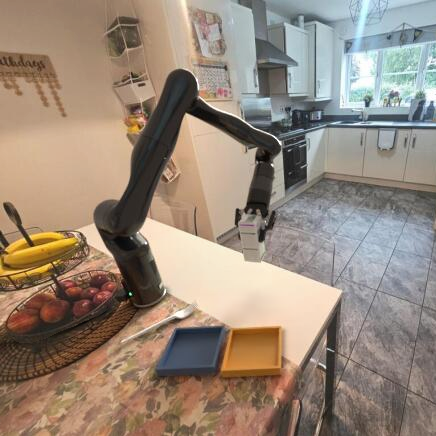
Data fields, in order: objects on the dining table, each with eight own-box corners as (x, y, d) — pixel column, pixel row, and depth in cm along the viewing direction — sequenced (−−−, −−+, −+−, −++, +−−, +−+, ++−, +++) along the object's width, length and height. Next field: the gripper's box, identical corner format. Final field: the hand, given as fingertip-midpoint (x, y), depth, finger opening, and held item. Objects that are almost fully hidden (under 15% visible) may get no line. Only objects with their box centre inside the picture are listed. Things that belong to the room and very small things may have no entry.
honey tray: (222, 377, 55) (220, 371, 54) (232, 334, 65) (230, 328, 64) (281, 374, 55) (280, 368, 54) (281, 332, 65) (281, 325, 64)
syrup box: (261, 263, 78) (256, 222, 71) (243, 261, 79) (237, 221, 72) (266, 253, 83) (262, 214, 76) (249, 251, 84) (244, 213, 77)
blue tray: (157, 376, 55) (154, 369, 54) (177, 333, 66) (175, 327, 64) (215, 373, 56) (213, 366, 54) (226, 331, 66) (224, 325, 65)
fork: (121, 340, 64) (118, 335, 64) (196, 303, 75) (195, 299, 74) (122, 349, 62) (119, 344, 61) (200, 310, 73) (198, 305, 72)
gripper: (283, 198, 83) (275, 246, 78) (244, 195, 86) (234, 242, 81) (278, 188, 76) (269, 240, 71) (235, 186, 79) (224, 236, 74)
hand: (250, 241), depth 76 cm, fingers closed on syrup box, 6 cm apart
